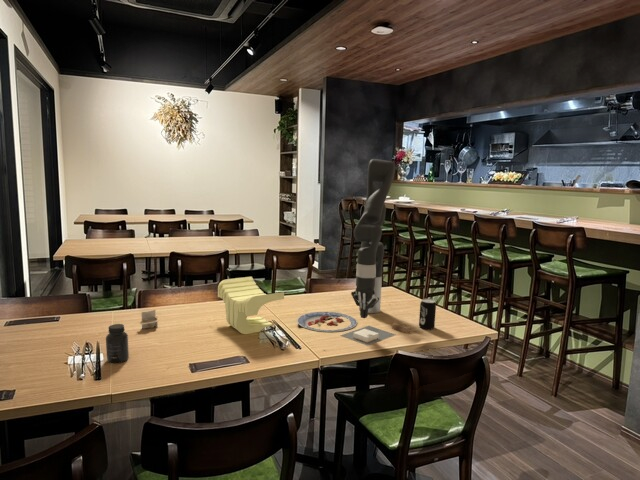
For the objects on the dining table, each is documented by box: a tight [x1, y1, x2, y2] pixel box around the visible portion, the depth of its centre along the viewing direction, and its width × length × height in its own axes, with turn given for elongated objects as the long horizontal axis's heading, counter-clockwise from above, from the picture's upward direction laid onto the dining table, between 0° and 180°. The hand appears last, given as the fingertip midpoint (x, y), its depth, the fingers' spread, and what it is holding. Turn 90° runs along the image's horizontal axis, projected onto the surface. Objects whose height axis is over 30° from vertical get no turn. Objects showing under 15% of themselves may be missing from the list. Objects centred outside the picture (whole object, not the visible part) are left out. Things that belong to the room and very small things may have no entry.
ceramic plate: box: [296, 311, 358, 333], centre depth 195 cm, size 26×26×3 cm
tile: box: [353, 329, 379, 343], centre depth 176 cm, size 2×7×7 cm
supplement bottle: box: [105, 323, 130, 365], centre depth 153 cm, size 7×7×12 cm
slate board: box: [340, 325, 397, 347], centre depth 180 cm, size 14×18×2 cm
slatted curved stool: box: [217, 276, 285, 335], centre depth 188 cm, size 30×16×18 cm, turn 34°
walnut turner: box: [391, 322, 411, 334], centre depth 189 cm, size 13×6×4 cm, turn 45°
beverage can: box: [418, 298, 437, 331], centre depth 195 cm, size 7×7×12 cm
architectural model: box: [138, 309, 159, 330], centre depth 184 cm, size 3×7×7 cm, turn 128°
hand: (363, 317), depth 178 cm, fingers closed
